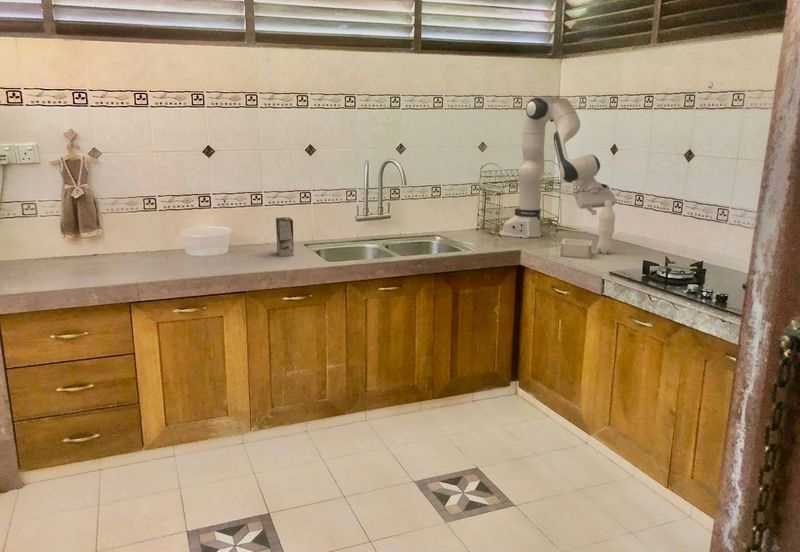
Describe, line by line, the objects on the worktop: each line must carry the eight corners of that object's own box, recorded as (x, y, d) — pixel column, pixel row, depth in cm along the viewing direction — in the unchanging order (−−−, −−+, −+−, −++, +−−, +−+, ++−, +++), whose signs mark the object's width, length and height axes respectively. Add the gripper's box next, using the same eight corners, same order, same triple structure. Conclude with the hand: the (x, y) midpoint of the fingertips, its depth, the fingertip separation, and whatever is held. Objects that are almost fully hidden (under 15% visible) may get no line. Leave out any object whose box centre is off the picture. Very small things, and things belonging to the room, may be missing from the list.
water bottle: (611, 252, 303) (616, 199, 296) (612, 255, 296) (617, 201, 290) (595, 251, 304) (600, 198, 298) (595, 254, 298) (600, 200, 291)
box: (560, 256, 292) (561, 243, 291) (562, 250, 304) (563, 238, 303) (589, 258, 288) (590, 245, 287) (591, 253, 300) (592, 240, 299)
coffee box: (294, 255, 288) (293, 220, 284) (280, 256, 286) (278, 220, 282) (290, 251, 296) (289, 216, 292) (276, 252, 294) (275, 217, 290)
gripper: (575, 187, 298) (588, 210, 292) (610, 184, 306) (623, 207, 299) (569, 195, 303) (581, 219, 297) (603, 193, 311) (616, 216, 305)
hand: (602, 213), depth 298 cm, fingers open, 8 cm apart
